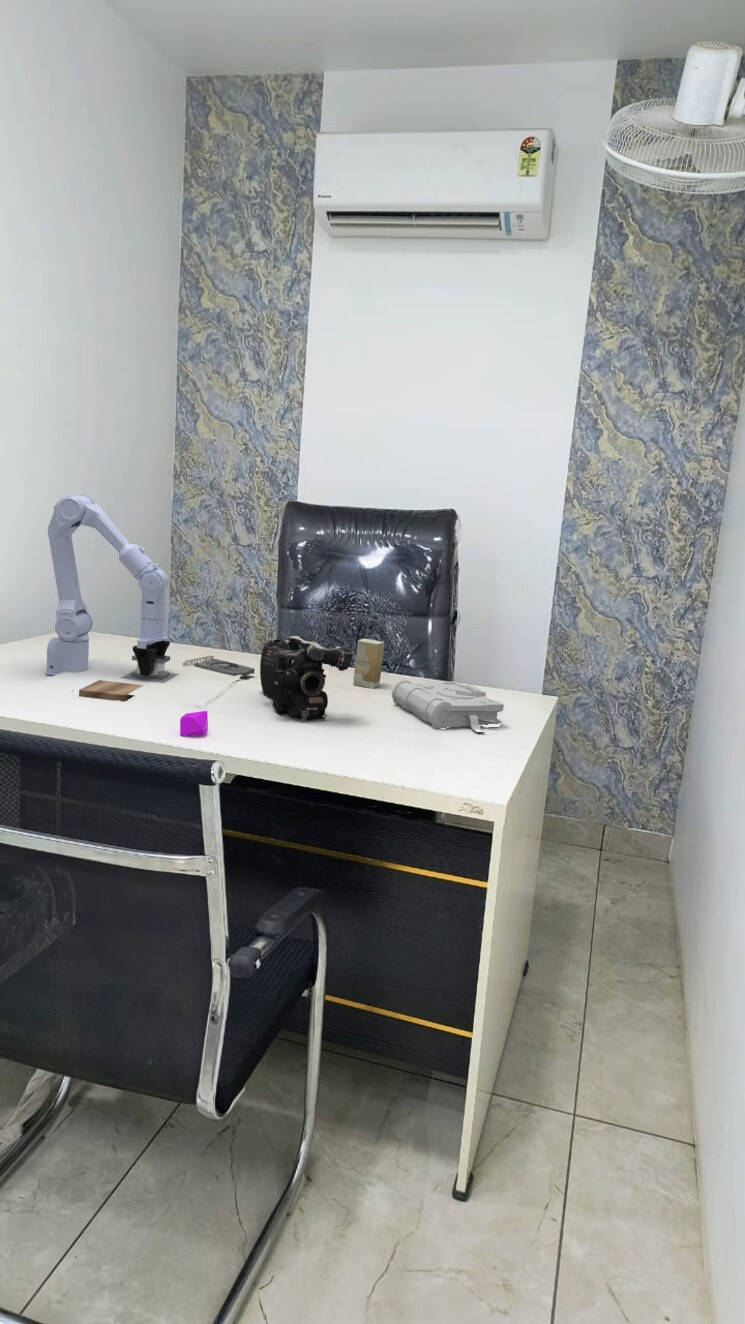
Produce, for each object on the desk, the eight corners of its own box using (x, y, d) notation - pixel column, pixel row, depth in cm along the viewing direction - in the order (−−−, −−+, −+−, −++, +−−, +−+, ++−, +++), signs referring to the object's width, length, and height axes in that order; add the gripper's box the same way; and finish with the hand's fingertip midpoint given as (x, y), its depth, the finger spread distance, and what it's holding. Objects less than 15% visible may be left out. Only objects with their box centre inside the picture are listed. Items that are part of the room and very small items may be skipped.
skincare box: (352, 685, 246) (356, 640, 243) (358, 682, 249) (362, 637, 247) (374, 689, 243) (378, 643, 241) (380, 686, 247) (384, 641, 245)
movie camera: (360, 719, 208) (362, 643, 205) (286, 727, 200) (286, 647, 197) (307, 692, 236) (308, 624, 232) (240, 697, 228) (240, 627, 225)
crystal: (183, 729, 192) (184, 708, 191) (209, 732, 192) (210, 710, 191) (177, 736, 187) (178, 714, 186) (204, 739, 187) (205, 717, 186)
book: (441, 737, 204) (445, 704, 202) (388, 705, 229) (392, 675, 227) (515, 736, 212) (520, 703, 210) (456, 704, 237) (460, 675, 235)
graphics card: (180, 660, 244) (211, 654, 254) (179, 674, 245) (211, 667, 254) (227, 672, 235) (258, 665, 245) (226, 687, 236) (257, 679, 245)
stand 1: (78, 696, 211) (79, 689, 210) (99, 686, 221) (99, 680, 221) (125, 701, 209) (125, 695, 209) (143, 691, 220) (143, 685, 220)
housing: (131, 676, 228) (131, 656, 227) (138, 672, 233) (139, 652, 232) (162, 679, 227) (163, 659, 226) (169, 675, 232) (170, 656, 231)
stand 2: (120, 683, 225) (120, 677, 225) (137, 674, 236) (137, 669, 236) (163, 688, 224) (164, 682, 224) (179, 679, 235) (179, 673, 234)
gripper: (158, 624, 219) (155, 679, 222) (178, 615, 234) (176, 668, 236) (129, 621, 220) (127, 676, 223) (151, 613, 234) (149, 665, 237)
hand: (150, 672), depth 230 cm, fingers open, 7 cm apart
